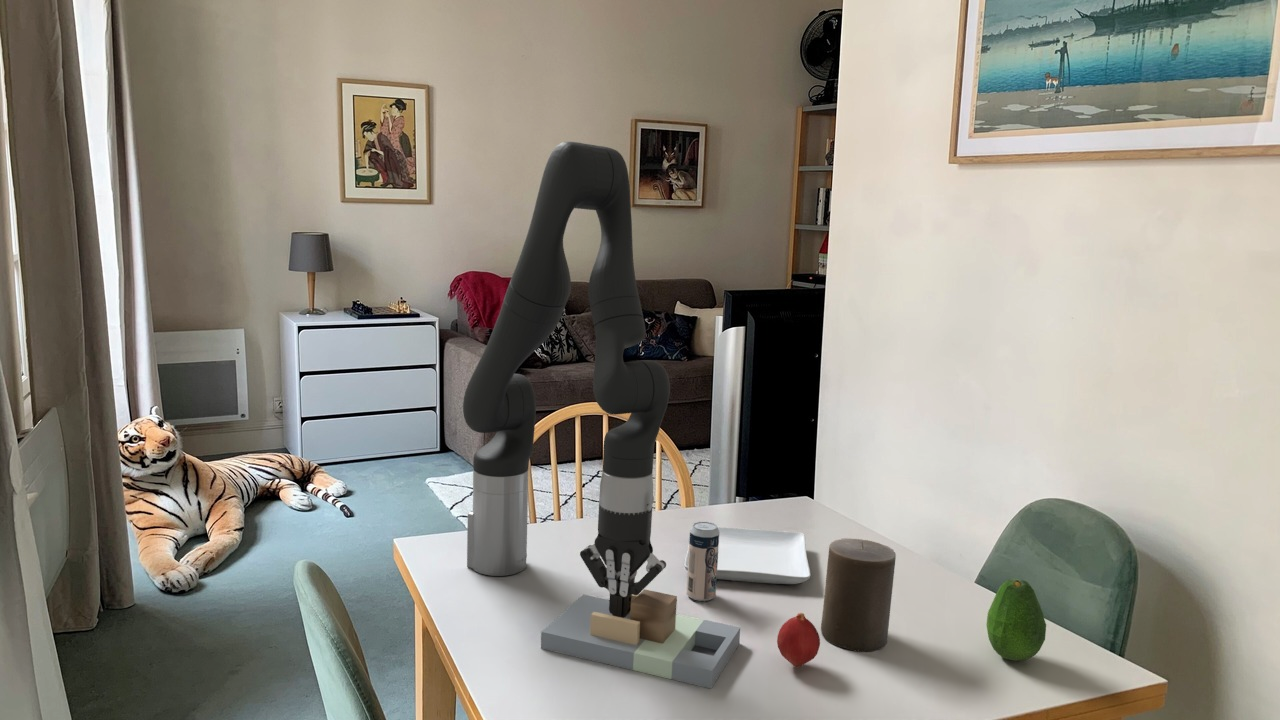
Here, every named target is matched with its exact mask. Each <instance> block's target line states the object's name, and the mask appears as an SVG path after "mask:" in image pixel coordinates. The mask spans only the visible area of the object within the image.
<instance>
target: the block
mask: <svg viewBox="0 0 1280 720" xmlns="http://www.w3.org/2000/svg"><path fill="white" fill-rule="evenodd" d="M677 598H678V596H677V595H672V594H669V593H664V592H658V591H656V590H649V589H646V588H644V589H643V590H642V591H641V592H640V593H639V595H638V596H637V597H636V598H635V599H634V600H633V601H632V602H631V611H630V620H635V621H639V622H640V636H639V638H640V639H644V640H649V641H653V642H657V643H662V644H663V643H664V642H665V641H666V639H667V638H668V637H669V636H670V635H671V633H672V632H673V631H674V630H675V623H676V614H677V601H678V599H677Z"/></svg>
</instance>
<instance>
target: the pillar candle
mask: <svg viewBox="0 0 1280 720" xmlns="http://www.w3.org/2000/svg"><path fill="white" fill-rule="evenodd" d="M828 545H829V547H828V555H827V568H826V576H825V588H824V597H823V608H822V614H821V622H820V623H821V624H820V631H821V635H822V637H823V638H824V639H825V640H826V641H828V642H829V643H830V644H832V645H835V646H837V647H839V648H843V649H846V650H849V651H854V652H872V651H873V652H874V651H877V650H881V649H883V648H885V647H886V645H887V642H888V637H889V636H888V635H889V628H890V627H889V626H890V617H891V608H892V607H891V606H892V597H893V595H892V594H893V588H894V578H895V577H894V575H895V568H896V567H895V566H896V558H897V557H896V556H897V554H896V552H895V551H894V550H895V549H893V548H891V547H890V546H889V545H885V544H882V543H880V542H877V541H873V540H868V539H863V538H862V539H861V538H850V537H849V538H848V537H844V538H840V539H836V540H833V541H831V542H830V544H828Z"/></svg>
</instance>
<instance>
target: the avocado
mask: <svg viewBox="0 0 1280 720" xmlns="http://www.w3.org/2000/svg"><path fill="white" fill-rule="evenodd" d="M1041 607H1042V606H1041V605H1040V603H1039V600H1038V597H1037V594H1036V593H1035V590H1034V589H1033V588H1032V586H1031V585H1030V583H1029V582H1028V581H1026V580H1022V579H1019V578H1015V577H1014V578H1010V579H1008V580H1006V581H1004V582H1003V583H1002V584H1001V585H1000V586H999V588H998V589H997V591H996V593H995V596H994V598H993V601H992V602H991V605H990V606H989V609H988V611H987V616H986V617H987V619H986V630H987V631H986V632H987V636H988V637H987V638H988V641H989V642H990V645H991V647H992V649H993V650H994V651H995V653H997V655H999V656H1000V657H1002V658H1003V659H1005V660H1010V661H1016V662H1020V661H1026V660H1029V659H1031V658H1034V656H1035V655H1036V654H1038V652H1040V650H1041V648H1042V647H1043V645H1044V642H1045V641H1046V634H1047V633H1046V632H1047V624H1046V619H1045V616H1044V613H1043V610H1042V608H1041Z"/></svg>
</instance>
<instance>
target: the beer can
mask: <svg viewBox="0 0 1280 720" xmlns="http://www.w3.org/2000/svg"><path fill="white" fill-rule="evenodd" d="M691 527H692V528H690V529H689V538H690V539H689V540H688V546H689V558H688V571H687V576H686V577H687V581H686V595H687V596H688V597H689V598H691V599H692V600H693V601H697V602H708V601H710V600H712V599H714V598H716V597H717V580H718V579H717V565H718V548H719V533H720V532H719V529H718V527H719V526H718V525H717V524H715V523H714V522H709V521H697V522H694V523H693V525H692V526H691Z"/></svg>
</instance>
